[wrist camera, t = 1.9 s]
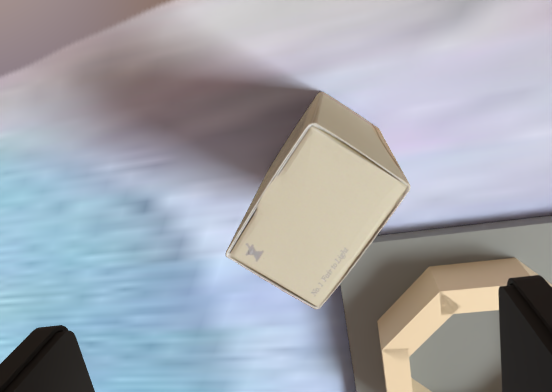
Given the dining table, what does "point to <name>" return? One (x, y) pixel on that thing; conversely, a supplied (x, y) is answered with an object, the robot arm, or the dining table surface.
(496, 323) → the collar board
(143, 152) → the dining table surface
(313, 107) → the skincare box
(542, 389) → the robot arm
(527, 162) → the dining table surface
